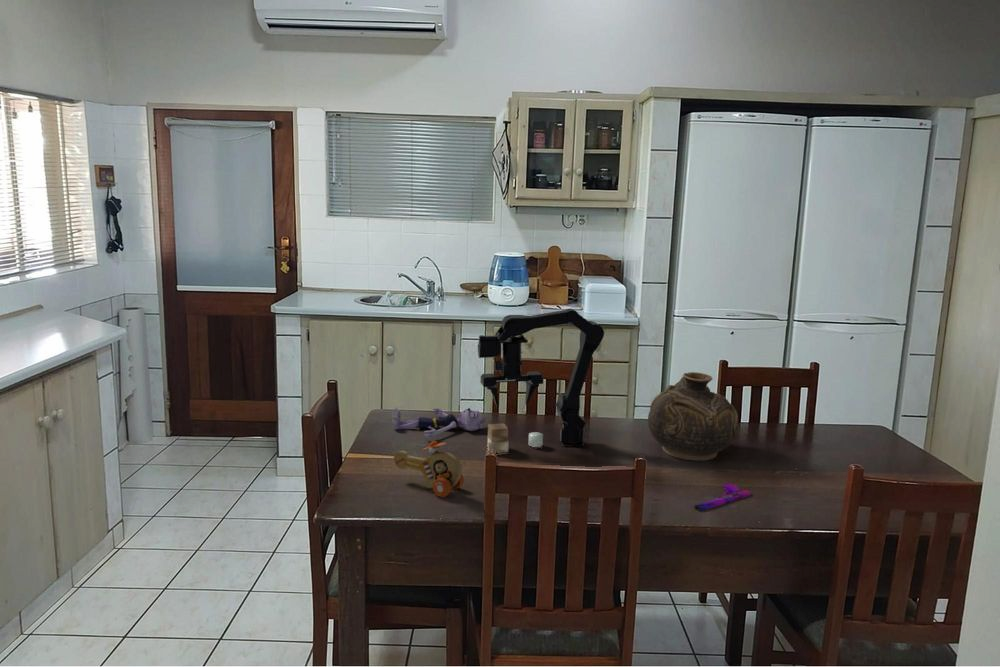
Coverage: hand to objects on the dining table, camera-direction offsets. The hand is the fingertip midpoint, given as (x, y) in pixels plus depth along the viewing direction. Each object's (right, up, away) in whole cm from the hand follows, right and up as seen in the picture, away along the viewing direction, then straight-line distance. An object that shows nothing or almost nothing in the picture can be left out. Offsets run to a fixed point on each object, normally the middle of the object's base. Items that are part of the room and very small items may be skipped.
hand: (511, 405), depth 233 cm
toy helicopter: (-22, -19, -32) cm, 43 cm away
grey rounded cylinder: (+7, -13, +2) cm, 15 cm away
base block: (-4, -14, -3) cm, 15 cm away
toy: (-24, -10, +16) cm, 30 cm away
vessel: (+55, -15, +1) cm, 57 cm away
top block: (-4, -10, -4) cm, 11 cm away
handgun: (+55, -22, -33) cm, 68 cm away
